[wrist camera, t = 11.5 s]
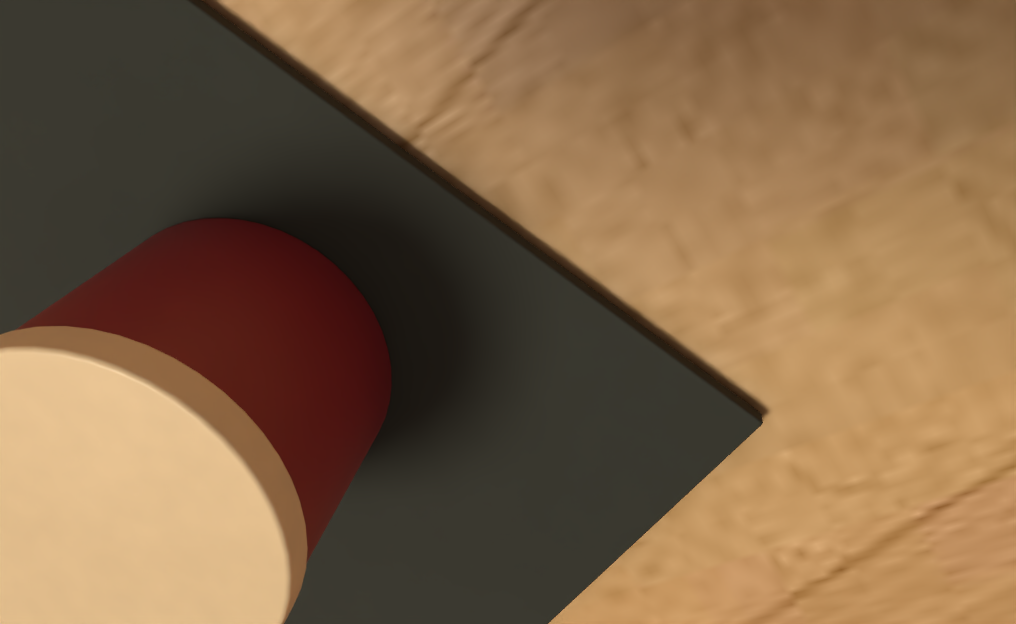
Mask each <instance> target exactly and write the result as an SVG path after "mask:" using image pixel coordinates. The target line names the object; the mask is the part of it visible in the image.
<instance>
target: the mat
mask: <svg viewBox="0 0 1016 624" xmlns="http://www.w3.org/2000/svg"><path fill="white" fill-rule="evenodd" d="M209 218H228V219H239V220H245V221H250V222H255V223H259V224H263V225H266V226H269V227H272V228H275V229H277V230H280V231H283V232H285V233H287V234H289V235H291V236H293V237H295V238H297V239H299V240H301V241H303V242H304V243H306V244H308V245H309V246H311V247H312V248H314V249H316V250H317V251H319V252H320V253H321V254H323V255H324V256H325V257H326V258H328V259H329V260H330V261H331V262H333V263H334V264H335V265H336V266H337V267H338V268H339V269H340V270H341V271H342V272H343V273H344V274H345V275H346V276H347V277H348V278H349V279H350V280H351V281H352V282H353V284H354V285H355V286H356V287H357V289H358V290H359V291H360V292H361V294H362V295H363V296H364V298H365V300H366V301H367V303H368V304H369V306H370V308H371V309H372V311H373V312H374V314H375V317H376V319H377V321H378V323H379V325H380V327H381V330H382V332H383V335H384V338H385V342H386V345H387V348H388V353H389V358H390V364H391V379H392V387H391V395H390V403H389V406H388V410H387V414H386V417H385V420H384V422H383V424H382V426H381V428H380V430H379V433H378V434H377V436H376V438H375V440H374V442H373V443H372V445H371V447H370V449H369V451H368V452H367V454H366V456H365V458H364V460H363V462H362V463H361V465H360V467H359V469H358V471H357V472H356V474H355V476H354V478H353V480H352V482H351V483H350V485H349V487H348V489H347V491H346V492H345V494H344V496H343V498H342V500H341V502H340V503H339V505H338V507H337V509H336V511H335V512H334V514H333V516H332V518H331V520H330V521H329V523H328V525H327V527H326V529H325V531H324V532H323V534H322V536H321V538H320V540H319V541H318V543H317V545H316V547H315V549H314V551H313V552H312V554H311V556H310V558H309V560H308V561H307V563H306V571H305V575H304V579H303V583H302V587H301V590H300V592H299V594H298V597H297V599H296V601H295V603H294V606H293V607H292V609H291V611H290V613H289V615H288V617H287V619H286V621H285V622H284V624H548V623H549V622H550V621H551V620H552V619H553V618H554V617H556V616H557V615H558V614H559V613H560V612H561V611H562V610H563V609H564V608H565V607H566V606H567V605H568V604H569V603H571V602H572V601H573V600H574V599H575V598H576V597H577V596H578V595H579V594H580V593H581V592H582V591H583V590H585V589H586V588H587V587H588V586H589V585H590V584H591V583H592V582H593V581H594V580H595V579H596V578H597V577H598V576H600V575H601V574H602V573H603V572H604V571H605V570H606V569H607V568H608V567H609V566H610V565H611V564H612V563H614V562H615V561H616V560H617V559H618V558H619V557H620V556H621V555H622V554H623V553H624V552H625V551H626V550H627V549H629V548H630V547H631V546H632V545H633V544H634V543H635V542H636V541H637V540H638V539H639V538H640V537H641V536H643V535H644V534H645V533H646V532H647V531H648V530H649V529H650V528H651V527H652V526H653V525H654V524H655V523H656V522H658V521H659V520H660V519H661V518H662V517H663V516H664V515H665V514H666V513H667V512H668V511H669V510H670V509H672V508H673V507H674V506H675V505H676V504H677V503H678V502H679V501H680V500H681V499H682V498H683V497H684V496H685V495H687V494H688V493H689V492H690V491H691V490H692V489H693V488H694V487H695V486H696V485H697V484H698V483H699V482H701V481H702V480H703V479H704V478H705V477H706V476H707V475H708V474H709V473H710V472H711V471H712V470H713V469H714V468H716V467H717V466H718V465H719V464H720V463H721V462H722V461H723V460H724V459H725V458H726V457H727V456H728V455H730V454H731V453H732V452H733V451H734V450H735V449H736V448H737V447H738V446H739V445H740V444H741V443H742V442H743V441H745V440H746V439H747V438H748V437H749V436H750V435H751V434H752V433H753V432H754V431H755V430H756V429H757V428H759V427H760V426H761V425H762V423H763V421H762V414H761V413H760V412H758V411H757V410H756V409H754V408H753V407H752V406H750V405H749V404H748V403H746V402H745V401H744V400H742V399H741V398H740V397H738V396H737V395H735V394H734V393H733V392H731V391H730V390H729V389H727V388H726V387H725V386H723V385H722V384H721V383H719V382H718V381H716V380H715V379H714V378H712V377H711V376H710V375H708V374H707V373H706V372H704V371H703V370H702V369H700V368H699V367H698V366H696V365H695V364H693V363H692V362H691V361H689V360H688V359H687V358H685V357H684V356H683V355H681V354H680V353H679V352H677V351H676V350H674V349H673V348H672V347H670V346H669V345H668V344H666V343H665V342H664V341H662V340H661V339H660V338H658V337H657V336H656V335H654V334H653V333H651V332H650V331H649V330H647V329H646V328H645V327H643V326H642V325H641V324H639V323H638V322H637V321H635V320H634V319H632V318H631V317H630V316H628V315H627V314H626V313H624V312H623V311H622V310H620V309H619V308H618V307H616V306H615V305H614V304H612V303H611V302H609V301H608V300H607V299H605V298H604V297H603V296H601V295H600V294H599V293H597V292H596V291H595V290H593V289H592V288H590V287H589V286H588V285H586V284H585V283H584V282H582V281H581V280H580V279H578V278H577V277H576V276H574V275H573V274H572V273H570V272H569V271H567V270H566V269H565V268H563V267H562V266H561V265H559V264H558V263H557V262H555V261H554V260H553V259H551V258H550V257H548V256H547V255H546V254H544V253H543V252H542V251H540V250H539V249H538V248H536V247H535V246H534V245H532V244H531V243H530V242H528V241H527V240H525V239H524V238H523V237H521V236H520V235H519V234H517V233H516V232H515V231H513V230H512V229H511V228H509V227H508V226H506V225H505V224H504V223H502V222H501V221H500V220H498V219H497V218H496V217H494V216H493V215H492V214H490V213H489V212H488V211H486V210H485V209H483V208H482V207H481V206H479V205H478V204H477V203H475V202H474V201H473V200H471V199H470V198H469V197H467V196H466V195H464V194H463V193H462V192H460V191H459V190H458V189H456V188H455V187H454V186H452V185H451V184H450V183H448V182H447V181H446V180H444V179H443V178H441V177H440V176H439V175H437V174H436V173H435V172H433V171H432V170H431V169H429V168H428V167H427V166H425V165H424V164H422V163H421V162H420V161H418V160H417V159H416V158H414V157H413V156H412V155H410V154H409V153H408V152H406V151H405V150H404V149H402V148H401V147H399V146H398V145H397V144H395V143H394V142H393V141H391V140H390V139H389V138H387V137H386V136H385V135H383V134H382V133H380V132H379V131H378V130H376V129H375V128H374V127H372V126H371V125H370V124H368V123H367V122H366V121H364V120H363V119H362V118H360V117H359V116H357V115H356V114H355V113H353V112H352V111H351V110H349V109H348V108H347V107H345V106H344V105H343V104H341V103H340V102H338V101H337V100H336V99H334V98H333V97H332V96H330V95H329V94H328V93H326V92H325V91H324V90H322V89H321V88H320V87H318V86H317V85H315V84H314V83H313V82H311V81H310V80H309V79H307V78H306V77H305V76H303V75H302V74H301V73H299V72H298V71H296V70H295V69H294V68H292V67H291V66H290V65H288V64H287V63H286V62H284V61H283V60H282V59H280V58H279V57H278V56H276V55H275V54H273V53H272V52H271V51H269V50H268V49H267V48H265V47H264V46H263V45H261V44H260V43H259V42H257V41H256V40H254V39H253V38H252V37H250V36H249V35H248V34H246V33H245V32H244V31H242V30H241V29H240V28H238V27H237V26H236V25H234V24H233V23H231V22H230V21H229V20H227V19H226V18H225V17H223V16H222V15H221V14H219V13H218V12H217V11H215V10H214V9H212V8H211V7H210V6H208V5H207V4H206V3H204V2H203V1H202V0H0V335H1V334H4V333H7V332H10V331H14V330H16V329H17V328H19V327H20V326H22V325H23V324H25V323H26V322H27V321H29V320H30V319H32V318H33V317H35V316H36V315H38V314H39V313H41V312H42V311H43V310H45V309H46V308H48V307H49V306H51V305H52V304H54V303H55V302H57V301H58V300H60V299H61V298H62V297H64V296H65V295H67V294H68V293H70V292H71V291H73V290H74V289H76V288H77V287H78V286H80V285H81V284H83V283H84V282H86V281H87V280H89V279H90V278H92V277H93V276H94V275H96V274H97V273H99V272H100V271H102V270H103V269H105V268H106V267H108V266H109V265H110V264H112V263H113V262H115V261H116V260H118V259H119V258H121V257H122V256H124V255H125V254H127V253H128V252H129V251H131V250H132V249H134V248H135V247H137V246H138V245H140V244H141V243H143V242H144V241H145V240H147V239H148V238H150V237H151V236H153V235H155V234H157V233H159V232H161V231H162V230H164V229H166V228H169V227H171V226H174V225H177V224H180V223H183V222H188V221H193V220H198V219H209Z"/></svg>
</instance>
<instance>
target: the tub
mask: <svg viewBox="0 0 1016 624" xmlns="http://www.w3.org/2000/svg"><path fill="white" fill-rule="evenodd" d="M391 387H392V379H391V364H390V358H389V353H388V348H387V345H386V342H385V338H384V335H383V332H382V330H381V327H380V325H379V323H378V321H377V319H376V317H375V314H374V312H373V311H372V309H371V308H370V306H369V304H368V303H367V301H366V300H365V298H364V296H363V295H362V294H361V292H360V291H359V290H358V289H357V287H356V286H355V285H354V284H353V282H352V281H351V280H350V279H349V278H348V277H347V276H346V275H345V274H344V273H343V272H342V271H341V270H340V269H339V268H338V267H337V266H336V265H335V264H334V263H333V262H331V261H330V260H329V259H328V258H326V257H325V256H324V255H323V254H321V253H320V252H319V251H317V250H316V249H314V248H312V247H311V246H309V245H308V244H306V243H304V242H303V241H301V240H299V239H297V238H295V237H293V236H291V235H289V234H287V233H285V232H283V231H280V230H277V229H275V228H272V227H269V226H266V225H263V224H259V223H255V222H250V221H245V220H239V219H228V218H209V219H198V220H193V221H188V222H183V223H180V224H177V225H174V226H171V227H169V228H166V229H164V230H162V231H161V232H159V233H157V234H155V235H153V236H151V237H150V238H148V239H147V240H145V241H144V242H143V243H141V244H140V245H138V246H137V247H135V248H134V249H132V250H131V251H129V252H128V253H127V254H125V255H124V256H122V257H121V258H119V259H118V260H116V261H115V262H113V263H112V264H110V265H109V266H108V267H106V268H105V269H103V270H102V271H100V272H99V273H97V274H96V275H94V276H93V277H92V278H90V279H89V280H87V281H86V282H84V283H83V284H81V285H80V286H78V287H77V288H76V289H74V290H73V291H71V292H70V293H68V294H67V295H65V296H64V297H62V298H61V299H60V300H58V301H57V302H55V303H54V304H52V305H51V306H49V307H48V308H46V309H45V310H43V311H42V312H41V313H39V314H38V315H36V316H35V317H33V318H32V319H30V320H29V321H27V322H26V323H25V324H23V325H22V326H20V327H19V328H17V329H16V330H14V331H10V332H7V333H4V334H1V335H0V624H284V622H285V621H286V619H287V617H288V615H289V613H290V611H291V609H292V607H293V606H294V603H295V601H296V599H297V597H298V594H299V592H300V590H301V587H302V583H303V579H304V575H305V571H306V563H307V561H308V560H309V558H310V556H311V554H312V552H313V551H314V549H315V547H316V545H317V543H318V541H319V540H320V538H321V536H322V534H323V532H324V531H325V529H326V527H327V525H328V523H329V521H330V520H331V518H332V516H333V514H334V512H335V511H336V509H337V507H338V505H339V503H340V502H341V500H342V498H343V496H344V494H345V492H346V491H347V489H348V487H349V485H350V483H351V482H352V480H353V478H354V476H355V474H356V472H357V471H358V469H359V467H360V465H361V463H362V462H363V460H364V458H365V456H366V454H367V452H368V451H369V449H370V447H371V445H372V443H373V442H374V440H375V438H376V436H377V434H378V433H379V430H380V428H381V426H382V424H383V422H384V420H385V417H386V414H387V410H388V406H389V403H390V395H391Z"/></svg>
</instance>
